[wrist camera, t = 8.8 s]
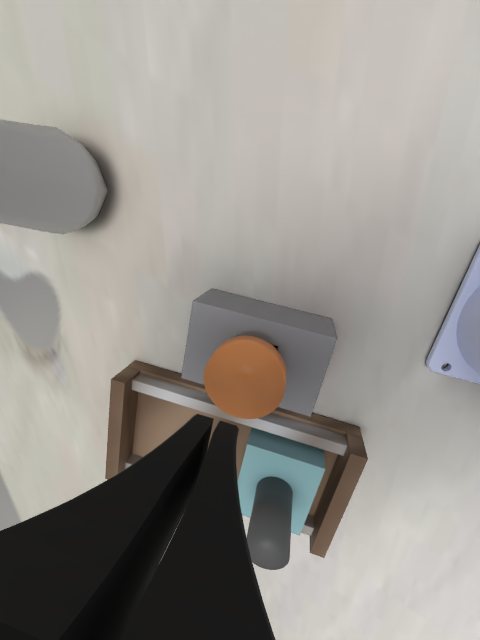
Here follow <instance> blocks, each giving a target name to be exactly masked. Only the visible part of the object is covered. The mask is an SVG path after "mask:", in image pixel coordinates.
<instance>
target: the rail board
mask: <svg viewBox="0 0 480 640" xmlns="http://www.w3.org/2000/svg"><path fill="white" fill-rule="evenodd" d="M181 376H182V374H179V373H176V372H172V371H169V370H166V369H162V368H159V367H156V366H152V365H149V364H146V363H142V362H139V361H134V362H133V363H131V364H130V365H129V366H127V367H126V368H125V369H124V370H122V371H121V372H120V373H118V374H117V375H116V376H115V377H113V378H112V379H111V391H110V408H109V425H108V442H107V459H106V476H105V479H110V478H112V477H113V476H115V475H117V474H118V473H120V472H122V471H123V470H125V469H126V468H128V467H129V466H131V465H132V464H134V463H135V462H137V461H138V460H139V459H141V458H142V457H144V456H145V455H147V454H148V453H149V452H151V451H152V450H154V449H155V448H156V447H157V446H159V445H160V444H161V443H163V442H164V441H165V440H166V439H168V438H169V437H170V436H171V435H173V434H174V433H175V432H176V431H177V430H179V429H180V428H181V427H182V426H183V425H184V424H185V423H186V422H188V421H189V420H190V419H191V418H192V417H193V416H194V415H196V414H200V415H204V416H207V417H210V418H213V419H214V420H213V425H212V430H211V435H210V440H209V444H210V441H211V438H212V434H213V432H214V430H215V428H216V426H217V425H218V423H219V421H223V422H227V423H230V424H233V425H236V426H237V427H238V429H239V432H238V436H237V444H236V467H237V482H238V478H239V474H240V470H241V466H242V462H243V459H244V455H245V451H246V447H247V443H248V440H249V436H250V432H251V429H252V427H253V428H256V429H259V430H263V431H266V432H269V433H272V434H275V435H279V436H282V437H285V438H288V439H291V440H295V441H298V442H301V443H304V444H307V445H311V446H314V447H317V448H320V449H323V450H324V458H325V471H324V474H323V476H322V479H321V482H320V484H319V487H318V489H317V492H316V495H315V497H314V500H313V502H312V505H311V508H310V510H309V513H308V515H307V518H306V521H305V523H304V526H303V528H302V531H301V533H304V534H307V535H310V553H312V554H315V555H318V556H320V557H323V558H324V557H325V555H326V552H327V550H328V548H329V546H330V543H331V541H332V539H333V537H334V534H335V532H336V530H337V528H338V525H339V523H340V521H341V519H342V516H343V514H344V512H345V509H346V507H347V505H348V503H349V500H350V498H351V496H352V494H353V491H354V489H355V487H356V485H357V482H358V480H359V478H360V476H361V473H362V471H363V469H364V467H365V464H366V462H367V460H368V457H367V454H366V450H365V446H364V442H363V438H362V434H361V431H360V427H357V426H354V425H351V424H347V423H344V422H340V421H337V420H334V419H330V418H327V417H324V416H320V415H317V414H314V413H312V414H311V417H310V416H307V415H303V414H300V413H297V412H293V411H290V410H287V409H283V408H280V407H277V408H276V409H275V410H274V411H273V412H271V413H270V414H268V415H266V416H264V417H261V418H256V419H242V418H237V417H234V416H231V415H229V414H227V413H225V412H224V411H222V410H221V409H219V408H218V407H217V406H216V405H215V404H214V403H213V402H212V400H211V399H210V397H209V396H208V394H207V391H206V389H205V385H203V384H200V383H196V382H193V381H190V380H186V379H183V378H181ZM208 447H209V445H208Z"/></svg>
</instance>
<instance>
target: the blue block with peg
mask: <svg viewBox="0 0 480 640" xmlns="http://www.w3.org/2000/svg"><path fill="white" fill-rule="evenodd" d="M324 471H325V458H324V450H323V449H320V448H317V447H314V446H311V445H307V444H304V443H301V442H298V441H295V440H291V439H288V438H285V437H282V436H279V435H275V434H272V433H269V432H266V431H263V430H259V429H256V428H253V427H252V429H251V432H250V436H249V440H248V443H247V447H246V451H245V455H244V459H243V462H242V466H241V470H240V474H239V478H238V491H239V499H240V506H241V513H242V515H244V516H247V517H250V523H249V528H248V534H247V543H248V548H249V552H250V556H251V561H252V562H253V563H254V564H256V565H257V566H259V567H262V568H264V569H269V570H277V569H281V568H283V567H285V566H286V565H287V564H288V562H289V556H290V538H291V532H292V533H295V534H297V535H300V534H301V531H302V528H303V526H304V523H305V521H306V518H307V515H308V513H309V510H310V508H311V505H312V502H313V500H314V497H315V495H316V492H317V489H318V487H319V484H320V482H321V479H322V476H323V474H324Z"/></svg>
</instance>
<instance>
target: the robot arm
mask: <svg viewBox="0 0 480 640" xmlns="http://www.w3.org/2000/svg"><path fill="white" fill-rule="evenodd" d="M445 363H448V366H447V367H446V368H441V366H442V365H443V364H445ZM426 366H427V367H428V368H429V369H430V370H431V371H433V372H436V373H440V374H443V375H447V376H451V377H455V378H458V379H462V380H466V381H470V382H474V383H477V384H480V245H479V247H478V250H477V252H476V254H475V256H474V258H473V260H472V263H471V265H470V267H469V269H468V271H467V273H466V276H465V278H464V280H463V282H462V284H461V286H460V289H459V291H458V293H457V295H456V297H455V299H454V302H453V304H452V306H451V308H450V310H449V312H448V315H447V317H446V319H445V321H444V323H443V325H442V328H441V330H440V332H439V334H438V336H437V338H436V341H435V343H434V345H433V347H432V349H431V351H430V354H429V356H428V358H427V360H426ZM213 420H214V419H213V418H210V417H207V416H204V415H200V414H196V415H194V416H193V417H192V418H191V419H190V420H189V421H188V422H186V423H185V424H184V425H183V426H182V427H181V428H180V429H179V430H177V431H176V432H175V433H174V434H173V435H171V436H170V437H169V438H168V439H166V440H165V441H164V442H163V443H161V444H160V445H159V446H157V447H156V448H155V449H154V450H152V451H151V452H149V453H148V454H147V455H145V456H144V457H142V458H141V459H139V460H138V461H137V462H135V463H134V464H132V465H131V466H129V467H128V468H126V469H125V470H123V471H122V472H120V473H118V474H117V475H115V476H113V477H112V478H110V479H108V480H107V481H105V482H103V483H102V484H100V485H98V486H96V487H94V488H92V489H91V490H89V491H87V492H85V493H83V494H81V495H79V496H77V497H76V498H74V499H72V500H70V501H68V502H66V503H63V504H61V505H59V506H57V507H55V508H53V509H50V510H48V511H46V512H44V513H41V514H39V515H37V516H35V517H32V518H30V519H28V520H26V521H24V522H21V523H19V524H16V525H14V526H12V527H9V528H7V529H4V530H2V531H0V640H275V637H274V634H273V631H272V628H271V625H270V622H269V619H268V616H267V613H266V610H265V607H264V603H263V600H262V596H261V593H260V589H259V586H258V582H257V579H256V575H255V571H254V568H253V564H252V561H251V556H250V552H249V548H248V543H247V539H246V534H245V529H244V524H243V519H242V513H241V506H240V499H239V491H238V482H237V467H236V444H237V436H238V432H239V429H238V427H237V426H236V425H233V424H230V423H227V422H223V421H219V423H218V425H217V426H216V428H215V430H214V432H213V434H212V438H211V441H210V444H209V440H210V435H211V430H212V425H213ZM208 445H209V447H208ZM180 520H181V521H180ZM179 522H180V523H179ZM178 524H179V525H178ZM177 526H178V527H177ZM176 528H177V529H176ZM175 530H176V531H175ZM174 532H175V533H174ZM173 534H174V535H173ZM172 536H173V537H172ZM171 538H172V539H171ZM170 540H171V541H170ZM169 542H170V543H169ZM168 544H169V545H168ZM167 546H168V548H167ZM166 548H167V550H166ZM165 550H166V552H165ZM164 552H165V554H164ZM163 554H164V556H163ZM162 557H163V558H162ZM161 559H162V560H161Z"/></svg>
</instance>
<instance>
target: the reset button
mask: <svg viewBox="0 0 480 640" xmlns="http://www.w3.org/2000/svg"><path fill="white" fill-rule="evenodd" d="M286 379H287V370H286V365H285V362H284V360H283V358H282V356H281V354H280V353H279V352H278V350H277V349H276V348H275V347H274V346H272V345H271V344H270V343H268V342H267V341H265V340H263V339H260V338H257V337H253V336H237V337H233V338H231V339H228V340H226V341H225V342H223V343H222V344H221V345H220V346H219V347H218V348H217V350H216V351H215V352H214V354H213V355H212V356H211V358H210V359H209V361H208V362H207V364H206V367H205V370H204V385H205V389H206V391H207V394H208V396H209V397H210V399H211V400H212V402H213V403H214V404H215V405H216V406H217V407H218V408H219V409H221V410H222V411H224V412H225V413H227V414H229V415H231V416H234V417H237V418H242V419H256V418H261V417H264V416H266V415H268V414H270V413H271V412H273V411H274V410H275V409H276V408H277V407H278V406H279V404H280V403H281V401H282V399H283V396H284V392H285V386H286Z"/></svg>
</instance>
